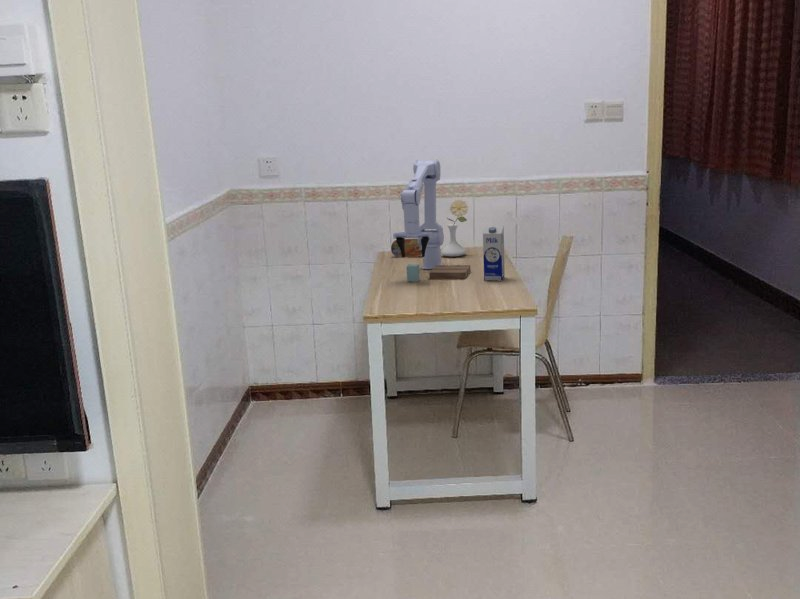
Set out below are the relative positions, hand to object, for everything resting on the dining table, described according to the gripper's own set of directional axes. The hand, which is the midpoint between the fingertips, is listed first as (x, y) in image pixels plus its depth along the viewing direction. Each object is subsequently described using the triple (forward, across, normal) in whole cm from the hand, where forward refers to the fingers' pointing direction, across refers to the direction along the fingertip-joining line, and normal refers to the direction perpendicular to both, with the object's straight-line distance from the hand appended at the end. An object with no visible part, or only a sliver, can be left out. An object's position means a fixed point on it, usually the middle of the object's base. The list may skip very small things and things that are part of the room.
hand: (413, 256), depth 302 cm
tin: (+10, -12, +49) cm, 51 cm away
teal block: (+10, -1, +1) cm, 10 cm away
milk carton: (+10, +30, +3) cm, 32 cm away
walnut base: (+10, +12, +10) cm, 18 cm away
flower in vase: (+10, +9, +50) cm, 51 cm away
